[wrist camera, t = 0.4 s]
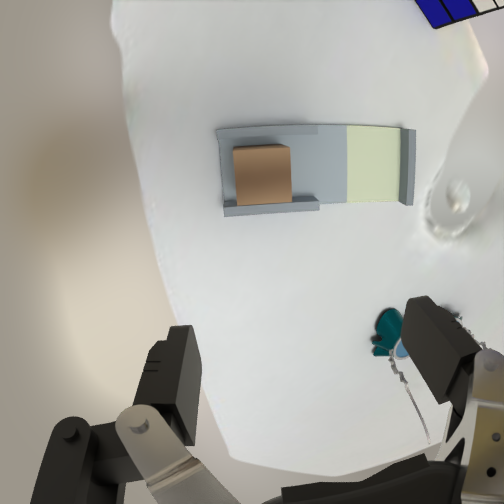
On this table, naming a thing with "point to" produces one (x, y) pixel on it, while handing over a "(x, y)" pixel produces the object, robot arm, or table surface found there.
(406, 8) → the table surface
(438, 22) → the puzzle cube
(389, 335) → the glasses
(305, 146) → the chute
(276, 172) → the block
